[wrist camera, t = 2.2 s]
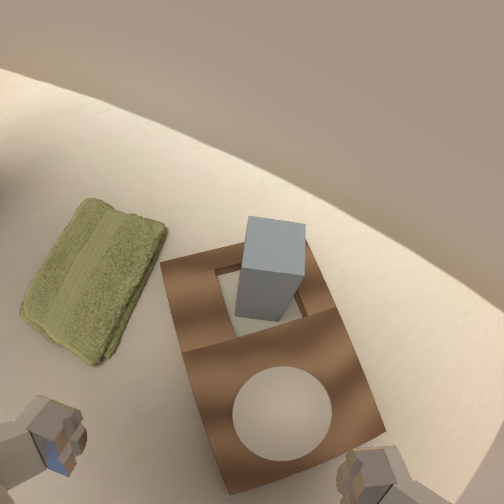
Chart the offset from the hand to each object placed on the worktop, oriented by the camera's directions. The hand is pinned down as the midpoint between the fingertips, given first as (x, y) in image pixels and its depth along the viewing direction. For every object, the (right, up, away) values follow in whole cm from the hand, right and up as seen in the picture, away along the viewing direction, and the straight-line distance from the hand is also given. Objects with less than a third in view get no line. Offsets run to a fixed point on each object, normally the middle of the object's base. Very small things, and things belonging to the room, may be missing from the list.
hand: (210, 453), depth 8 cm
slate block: (+2, +1, +26) cm, 26 cm away
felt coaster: (+4, -9, +18) cm, 21 cm away
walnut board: (+3, -4, +23) cm, 23 cm away
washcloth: (-17, +3, +25) cm, 30 cm away
